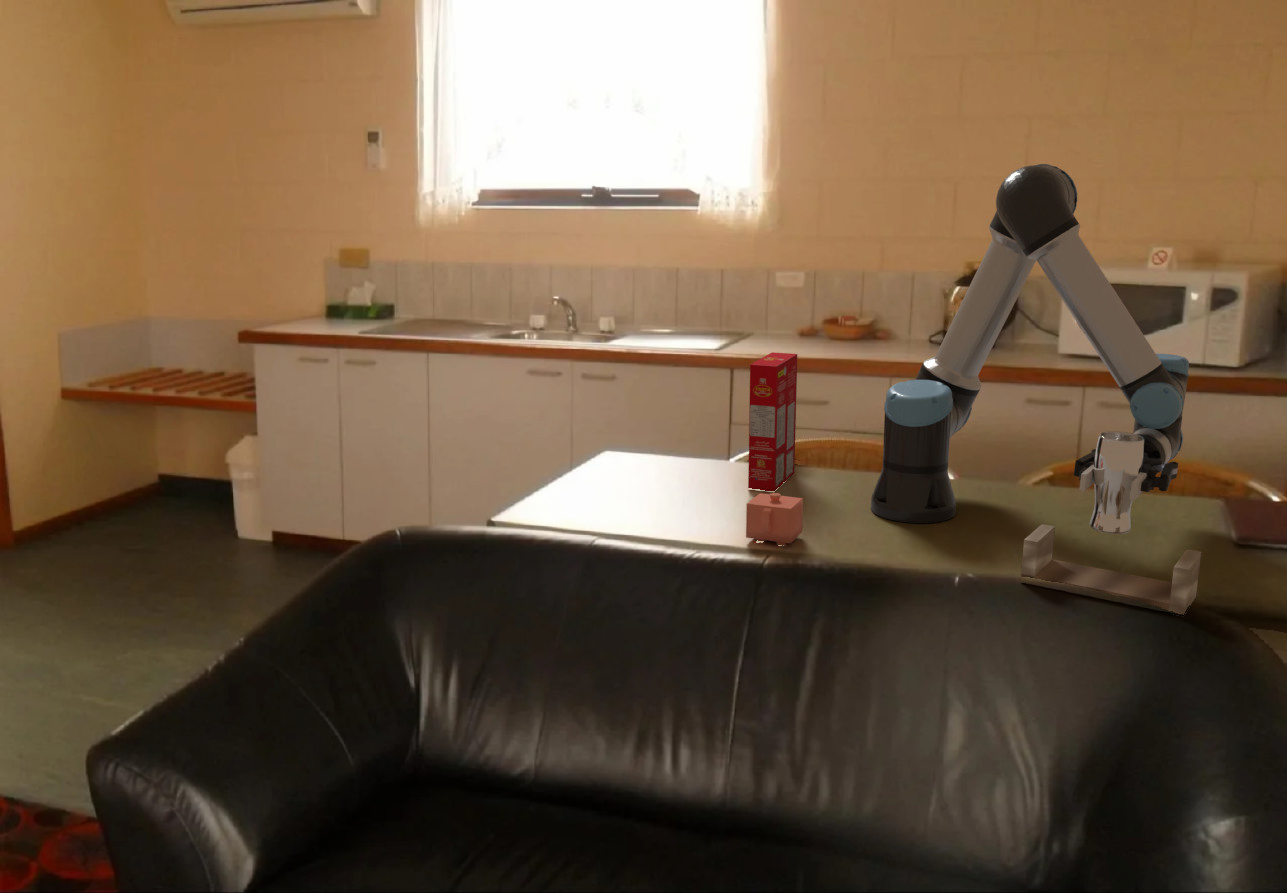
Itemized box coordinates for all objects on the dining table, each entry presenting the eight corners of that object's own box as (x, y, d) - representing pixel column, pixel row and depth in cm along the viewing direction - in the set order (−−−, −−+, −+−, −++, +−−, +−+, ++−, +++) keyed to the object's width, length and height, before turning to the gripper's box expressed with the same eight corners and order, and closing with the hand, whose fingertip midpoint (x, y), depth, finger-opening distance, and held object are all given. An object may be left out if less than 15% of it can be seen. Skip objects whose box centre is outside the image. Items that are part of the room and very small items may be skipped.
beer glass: (1109, 537, 175) (1122, 443, 172) (1076, 523, 182) (1087, 433, 178) (1143, 532, 178) (1156, 439, 174) (1109, 518, 184) (1121, 429, 180)
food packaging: (769, 471, 236) (772, 352, 230) (794, 473, 234) (797, 353, 228) (748, 490, 223) (750, 364, 216) (774, 493, 221) (776, 366, 214)
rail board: (1020, 583, 173) (1024, 539, 172) (1038, 566, 181) (1041, 524, 179) (1183, 616, 160) (1189, 569, 159) (1196, 596, 168) (1201, 551, 166)
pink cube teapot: (807, 532, 198) (808, 486, 196) (786, 553, 187) (787, 505, 185) (764, 526, 201) (765, 481, 199) (741, 547, 191) (742, 500, 189)
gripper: (1202, 486, 188) (1173, 522, 169) (1080, 466, 198) (1040, 498, 180) (1209, 442, 186) (1180, 474, 167) (1084, 424, 196) (1045, 452, 178)
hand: (1107, 486), depth 174 cm, fingers closed on beer glass, 7 cm apart
